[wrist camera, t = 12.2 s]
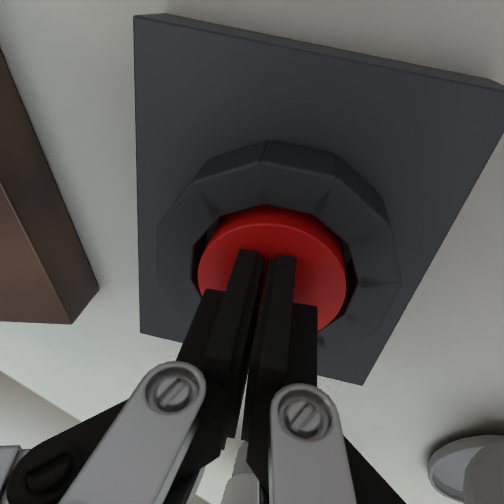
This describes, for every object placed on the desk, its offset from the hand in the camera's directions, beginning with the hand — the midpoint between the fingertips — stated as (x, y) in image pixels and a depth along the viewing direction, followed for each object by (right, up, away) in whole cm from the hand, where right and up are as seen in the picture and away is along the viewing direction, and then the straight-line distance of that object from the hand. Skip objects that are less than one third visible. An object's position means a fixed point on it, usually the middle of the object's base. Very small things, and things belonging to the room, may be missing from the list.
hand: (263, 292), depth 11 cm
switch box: (+1, +3, +3) cm, 4 cm away
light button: (0, +1, +1) cm, 2 cm away
